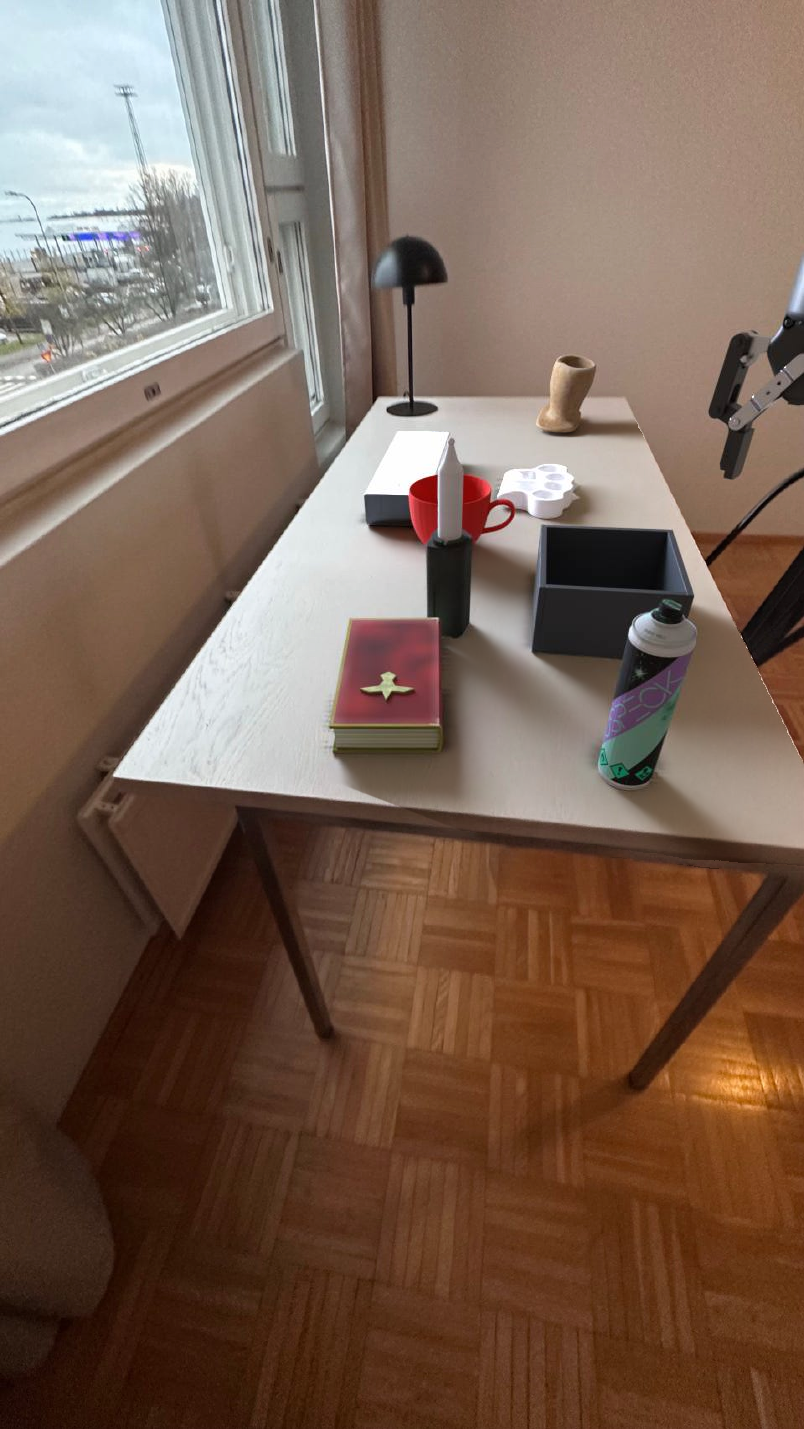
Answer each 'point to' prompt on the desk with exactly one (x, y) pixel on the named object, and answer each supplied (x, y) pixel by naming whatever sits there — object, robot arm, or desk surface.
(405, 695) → the hardcover book
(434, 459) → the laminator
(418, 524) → the ceramic cup
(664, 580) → the bin
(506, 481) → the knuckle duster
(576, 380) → the stone cup
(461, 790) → the desk surface
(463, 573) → the candle
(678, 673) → the spray can
